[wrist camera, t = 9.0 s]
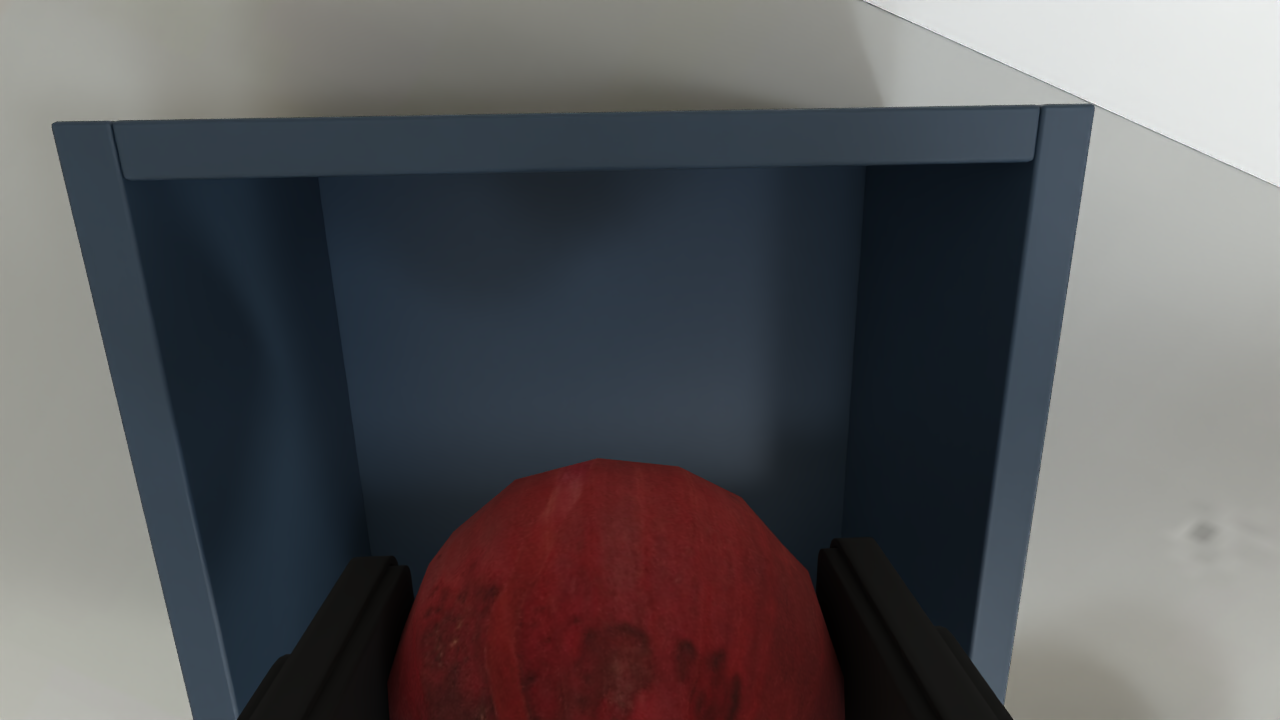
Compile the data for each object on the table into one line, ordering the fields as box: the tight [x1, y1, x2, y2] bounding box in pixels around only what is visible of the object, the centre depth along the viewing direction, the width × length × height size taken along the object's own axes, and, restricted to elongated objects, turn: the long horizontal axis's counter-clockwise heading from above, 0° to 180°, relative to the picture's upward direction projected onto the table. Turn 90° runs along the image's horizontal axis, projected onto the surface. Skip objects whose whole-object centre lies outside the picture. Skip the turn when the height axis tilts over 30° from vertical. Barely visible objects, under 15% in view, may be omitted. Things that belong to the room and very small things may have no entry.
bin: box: [52, 104, 1095, 720], centre depth 16 cm, size 15×15×8 cm
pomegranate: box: [387, 458, 845, 720], centre depth 9 cm, size 6×6×8 cm
